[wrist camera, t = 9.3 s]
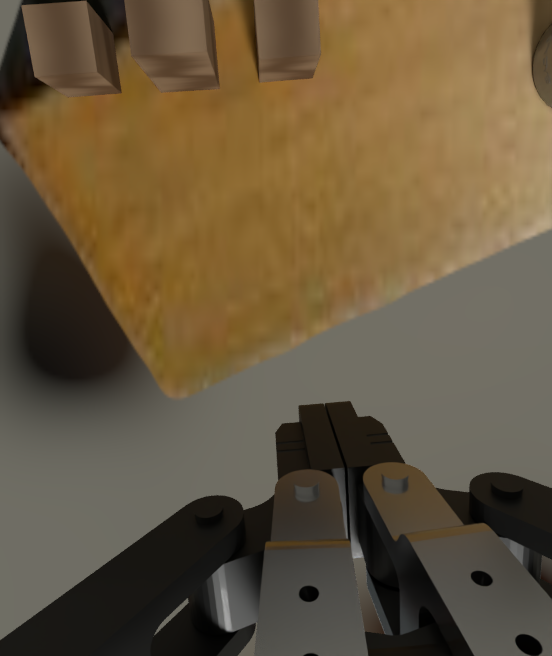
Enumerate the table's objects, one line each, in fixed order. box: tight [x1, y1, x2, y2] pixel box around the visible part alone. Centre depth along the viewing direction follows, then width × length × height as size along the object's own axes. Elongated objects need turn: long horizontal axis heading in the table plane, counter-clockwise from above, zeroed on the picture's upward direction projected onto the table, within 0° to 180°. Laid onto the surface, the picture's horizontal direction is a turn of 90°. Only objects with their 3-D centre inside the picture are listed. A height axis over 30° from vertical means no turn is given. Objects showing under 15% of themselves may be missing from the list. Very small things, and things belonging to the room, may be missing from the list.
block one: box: [254, 0, 321, 82], centre depth 39 cm, size 5×5×6 cm
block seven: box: [22, 1, 121, 97], centre depth 39 cm, size 5×5×6 cm
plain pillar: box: [124, 0, 220, 93], centre depth 37 cm, size 6×6×10 cm
